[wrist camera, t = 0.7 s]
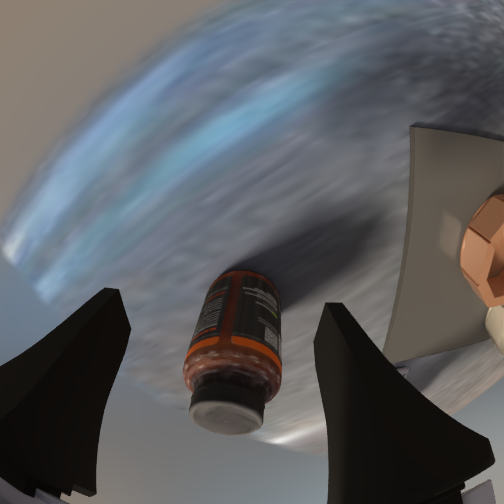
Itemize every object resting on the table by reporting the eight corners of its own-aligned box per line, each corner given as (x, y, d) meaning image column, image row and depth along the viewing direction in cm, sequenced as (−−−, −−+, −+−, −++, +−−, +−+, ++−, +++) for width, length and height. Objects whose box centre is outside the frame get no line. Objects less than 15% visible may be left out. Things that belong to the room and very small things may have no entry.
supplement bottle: (201, 312, 24) (163, 424, 14) (219, 256, 21) (176, 375, 11) (265, 333, 24) (256, 449, 14) (293, 281, 22) (301, 408, 11)
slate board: (515, 324, 22) (518, 328, 22) (380, 358, 25) (382, 364, 24) (557, 158, 13) (562, 159, 12) (409, 126, 15) (414, 127, 15)
